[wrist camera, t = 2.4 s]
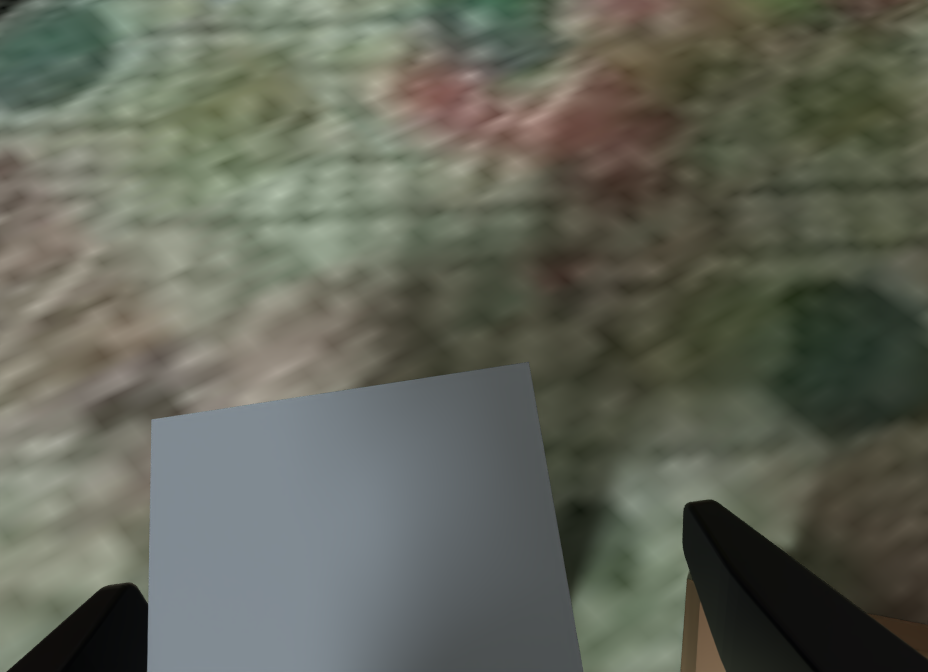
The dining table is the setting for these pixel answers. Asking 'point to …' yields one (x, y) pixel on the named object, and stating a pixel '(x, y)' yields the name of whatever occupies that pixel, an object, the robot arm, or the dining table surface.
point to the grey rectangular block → (360, 533)
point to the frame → (704, 661)
